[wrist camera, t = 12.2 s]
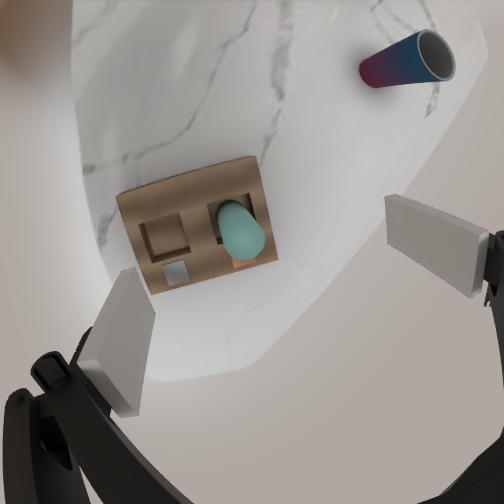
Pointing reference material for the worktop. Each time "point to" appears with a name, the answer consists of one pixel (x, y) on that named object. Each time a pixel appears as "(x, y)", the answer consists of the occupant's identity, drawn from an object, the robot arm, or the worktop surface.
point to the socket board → (193, 223)
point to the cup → (410, 62)
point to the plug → (239, 230)
